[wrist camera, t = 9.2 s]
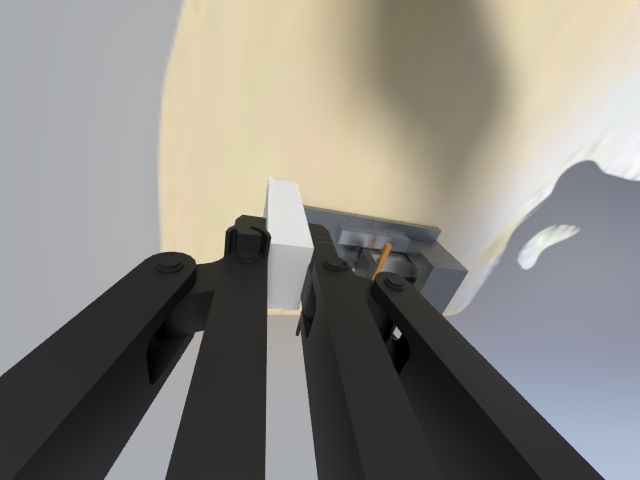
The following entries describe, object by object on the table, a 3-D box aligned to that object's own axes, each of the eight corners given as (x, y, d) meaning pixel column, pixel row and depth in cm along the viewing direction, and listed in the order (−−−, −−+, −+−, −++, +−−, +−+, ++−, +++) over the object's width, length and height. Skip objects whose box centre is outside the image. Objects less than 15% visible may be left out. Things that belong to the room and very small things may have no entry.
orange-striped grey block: (362, 230, 43) (375, 251, 38) (432, 241, 46) (453, 261, 41) (346, 275, 47) (356, 299, 42) (411, 281, 51) (428, 305, 45)
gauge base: (292, 203, 40) (299, 235, 32) (438, 228, 47) (475, 260, 39) (278, 272, 46) (280, 315, 38) (409, 285, 53) (435, 324, 45)
